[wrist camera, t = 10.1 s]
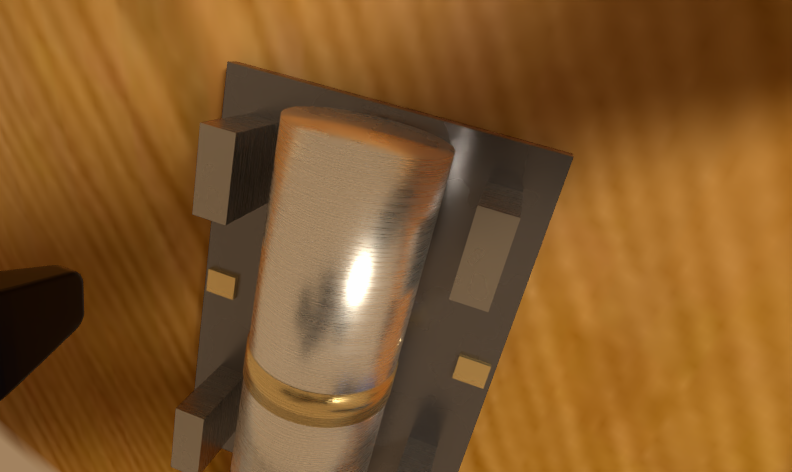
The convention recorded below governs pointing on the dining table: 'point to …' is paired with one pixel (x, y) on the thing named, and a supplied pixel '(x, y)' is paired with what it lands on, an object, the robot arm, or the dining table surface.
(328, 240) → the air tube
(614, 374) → the dining table surface
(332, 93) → the collar cradle
